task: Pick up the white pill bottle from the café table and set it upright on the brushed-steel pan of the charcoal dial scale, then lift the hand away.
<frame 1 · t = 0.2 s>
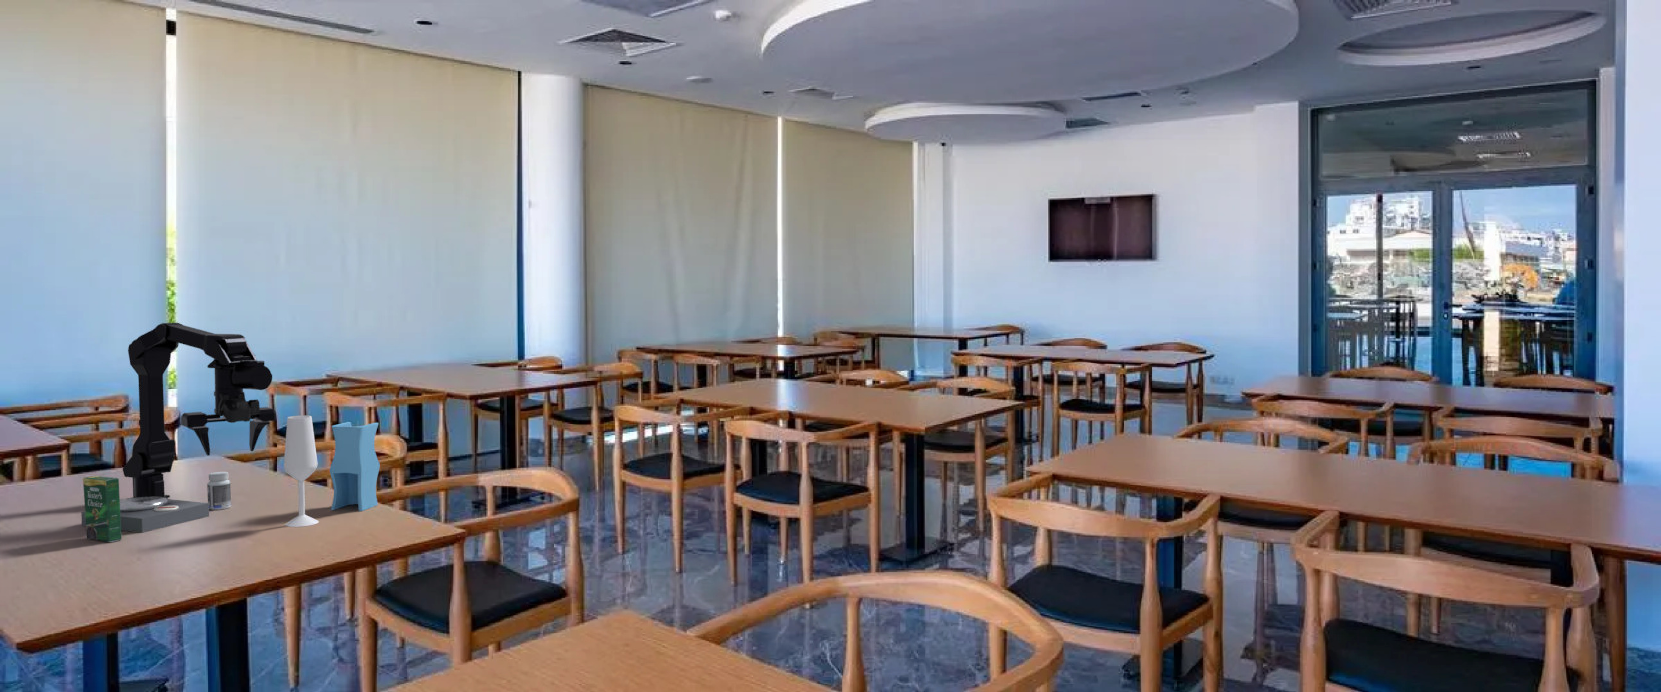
hand: (230, 453, 237), 13 cm above the table, fingers open, 9 cm apart
blue wavy hollow stand: (355, 507, 240), on the table
champagne flute: (302, 523, 224), on the table
coffee box: (103, 540, 209), on the table
scale pan: (138, 503, 225), point 4 cm above the table, slide at -0.3 cm
scale: (146, 520, 225), on the table
pill bottle: (219, 508, 238), on the table
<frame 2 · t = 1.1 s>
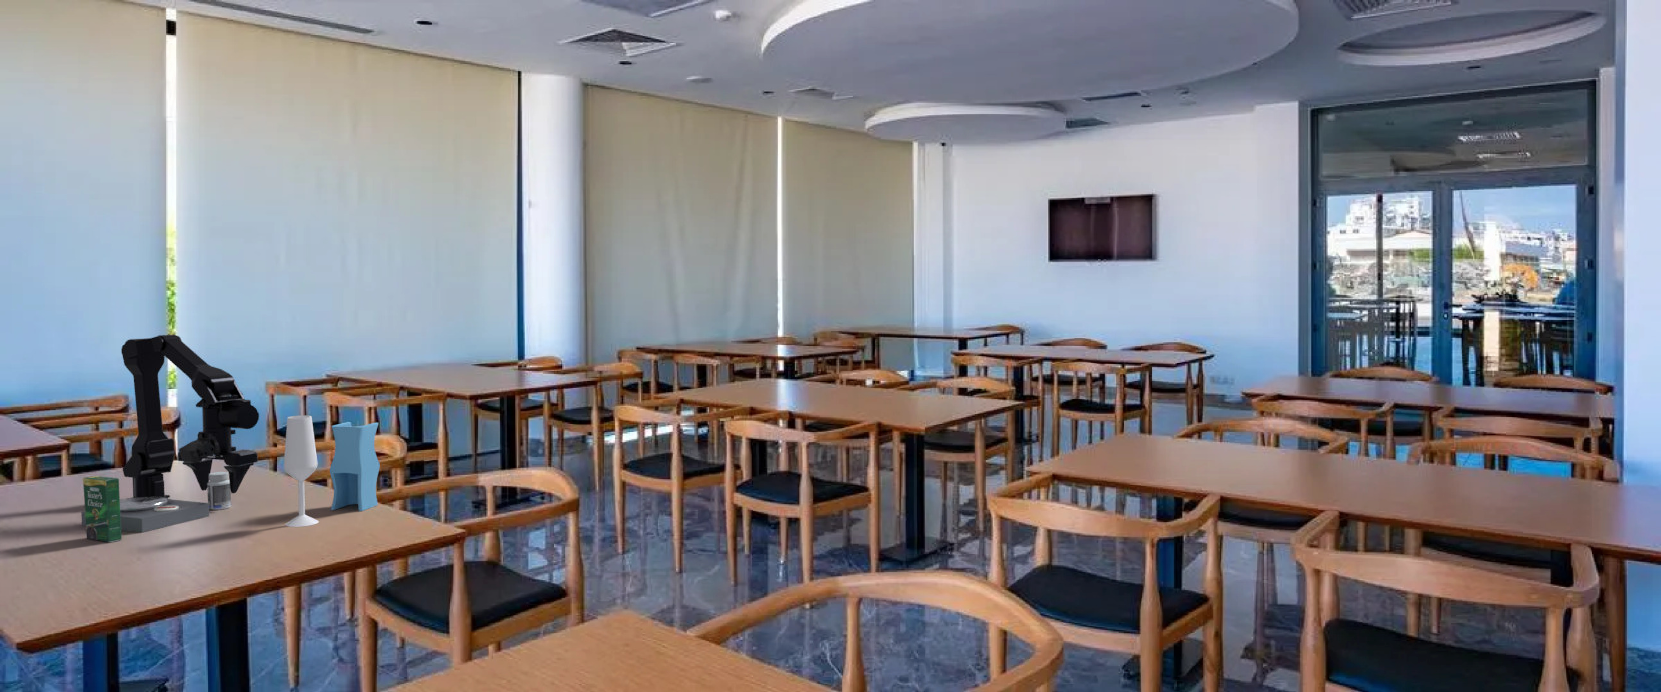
hand: (218, 491, 238), 4 cm above the table, fingers open, 9 cm apart
nothing on the table moved.
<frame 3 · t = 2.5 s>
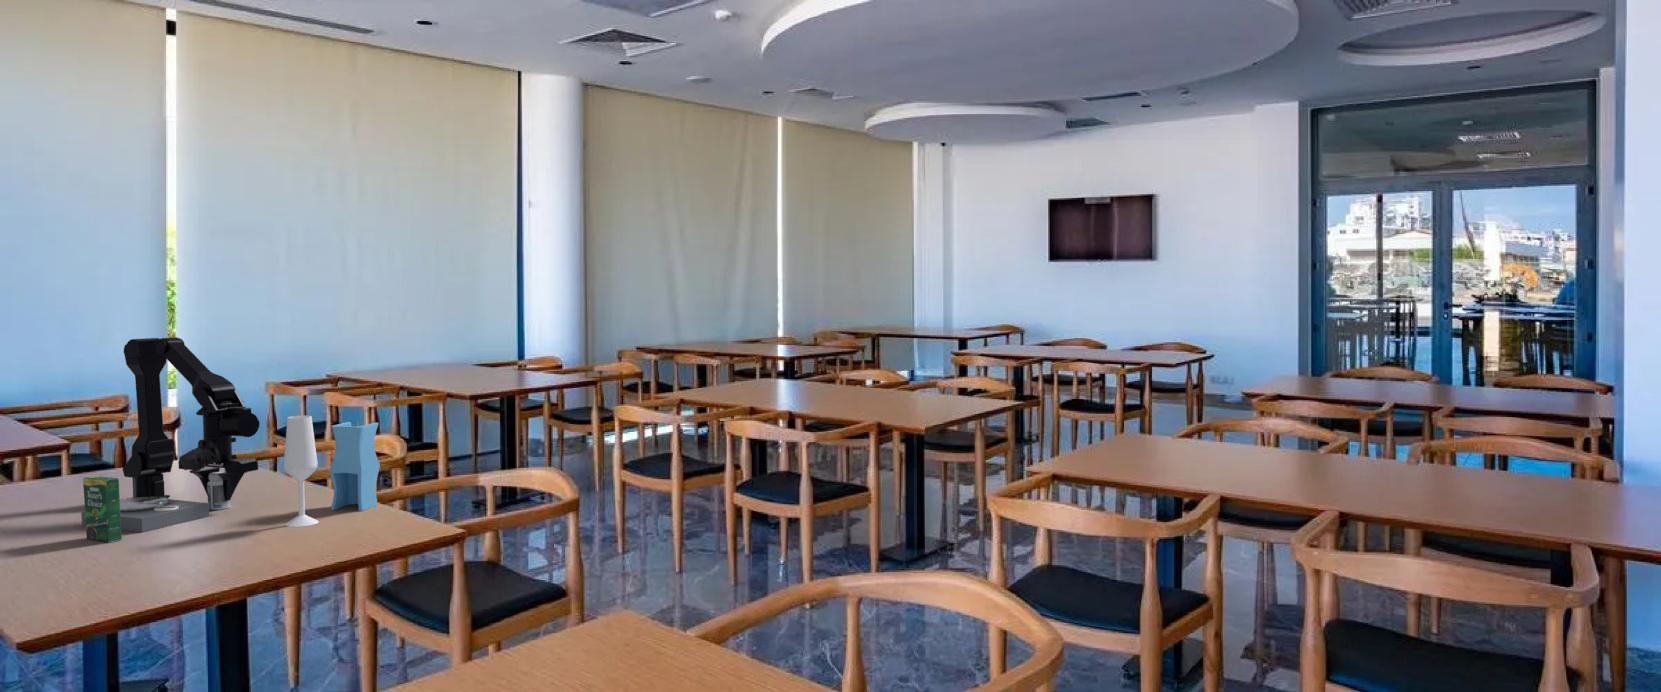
hand: (219, 499, 238), 2 cm above the table, fingers closed on pill bottle, 5 cm apart
pill bottle: (219, 508, 238), on the table, touching gripper
everything else where it was.
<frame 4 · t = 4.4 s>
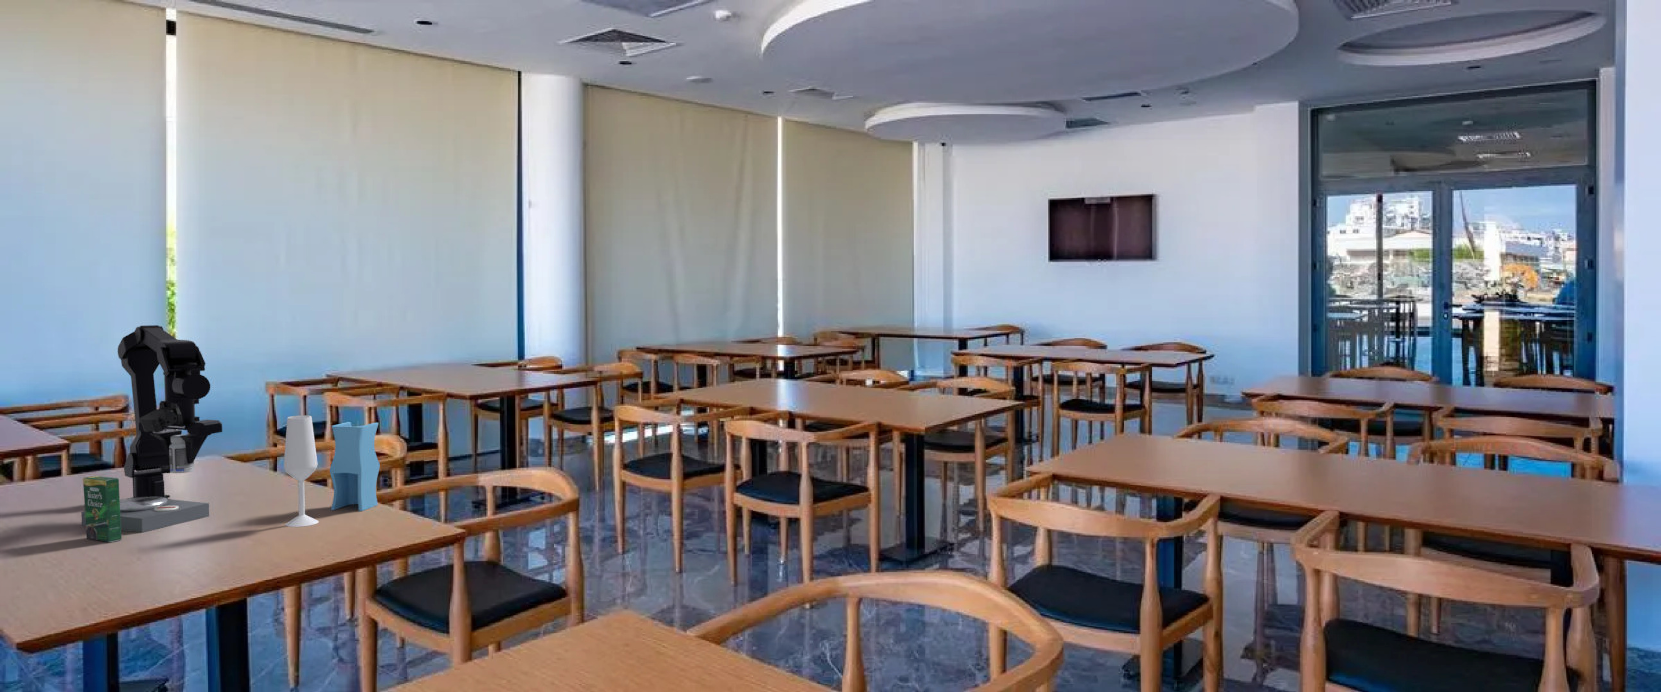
hand: (181, 462, 231), 12 cm above the table, fingers closed on pill bottle, 5 cm apart
pill bottle: (182, 472, 232), point 10 cm above the table, touching gripper
everything else where it was.
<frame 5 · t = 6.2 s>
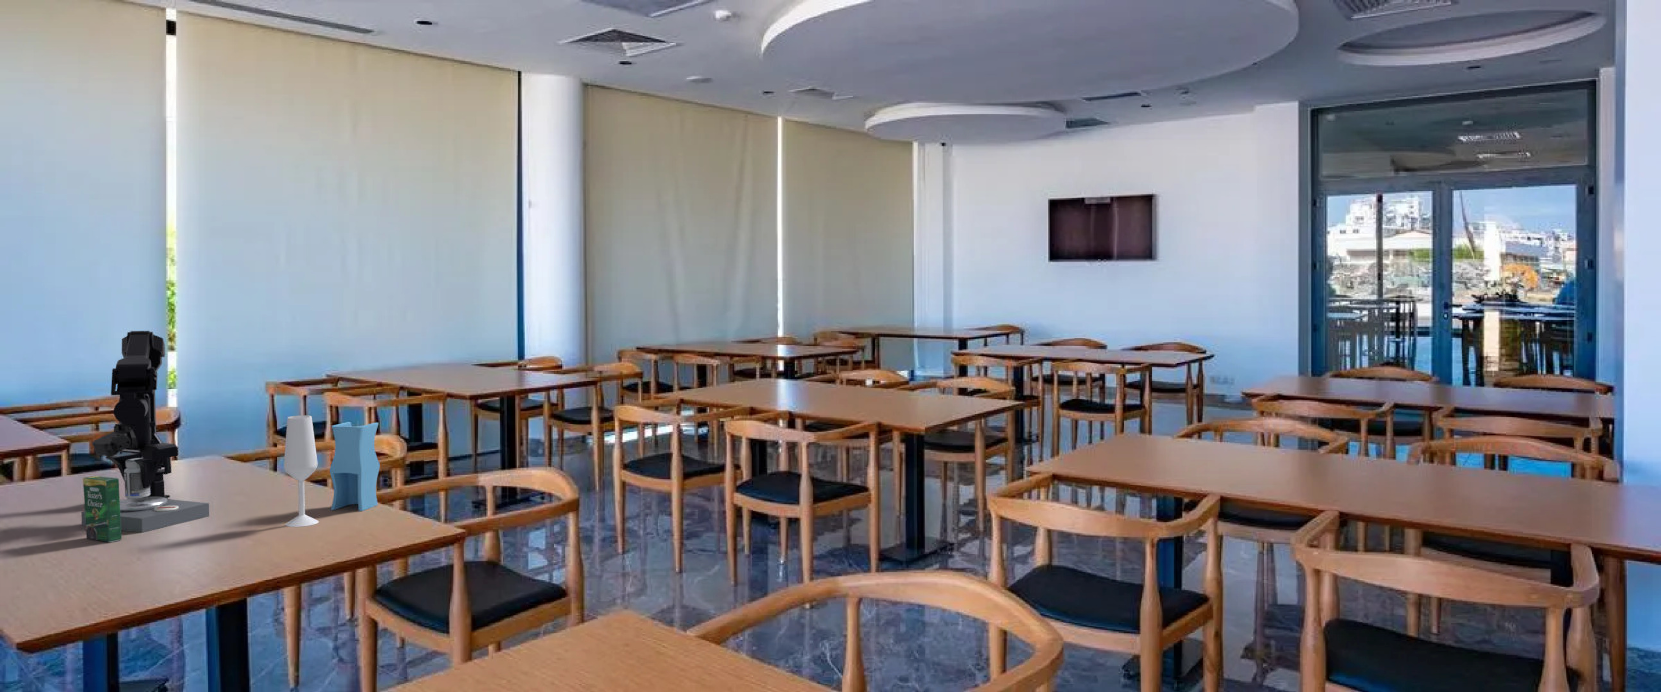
hand: (137, 487, 225), 7 cm above the table, fingers closed on pill bottle, 5 cm apart
pill bottle: (137, 497, 225), point 5 cm above the table, touching gripper
everything else where it was.
when the fingers open (7 cm above the table, at t = 6.5 s): pill bottle drops 1 cm, resting on scale pan.
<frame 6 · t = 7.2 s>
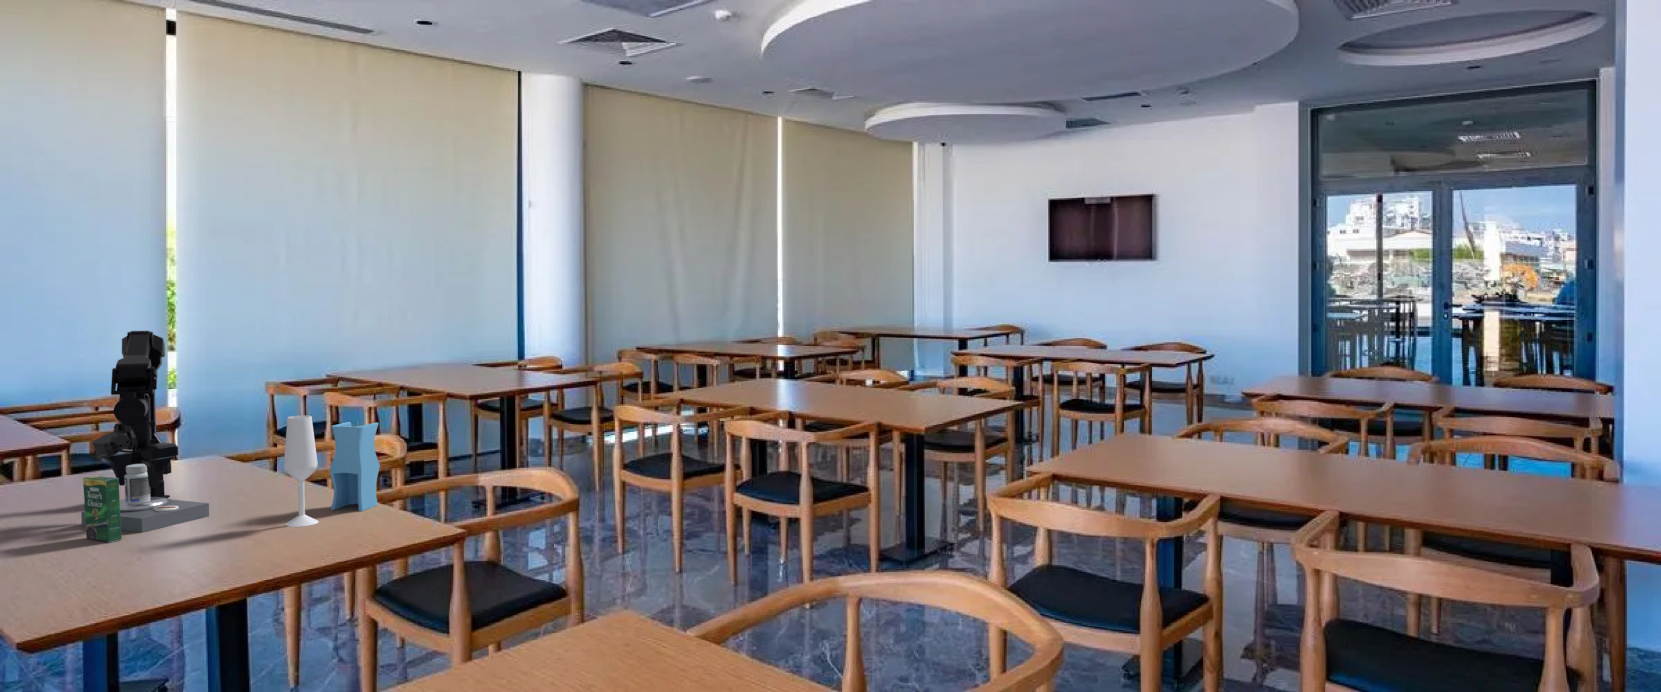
hand: (137, 486, 225), 7 cm above the table, fingers open, 9 cm apart
scale pan: (138, 504, 225), point 4 cm above the table, slide at -0.4 cm, touching pill bottle
pill bottle: (138, 502, 225), point 4 cm above the table, touching scale pan
everything else where it was.
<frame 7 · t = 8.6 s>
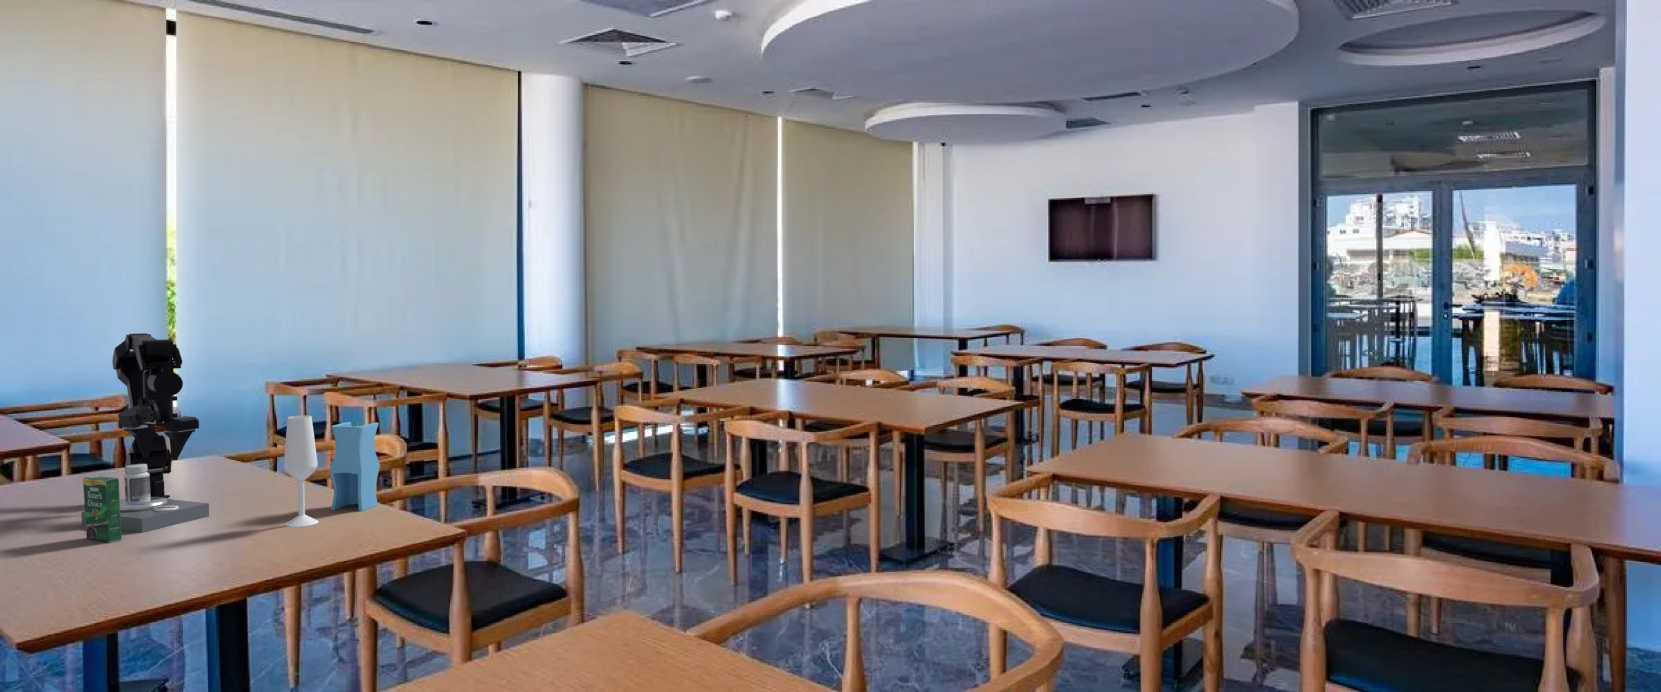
hand: (160, 458, 236), 12 cm above the table, fingers open, 9 cm apart
nothing on the table moved.
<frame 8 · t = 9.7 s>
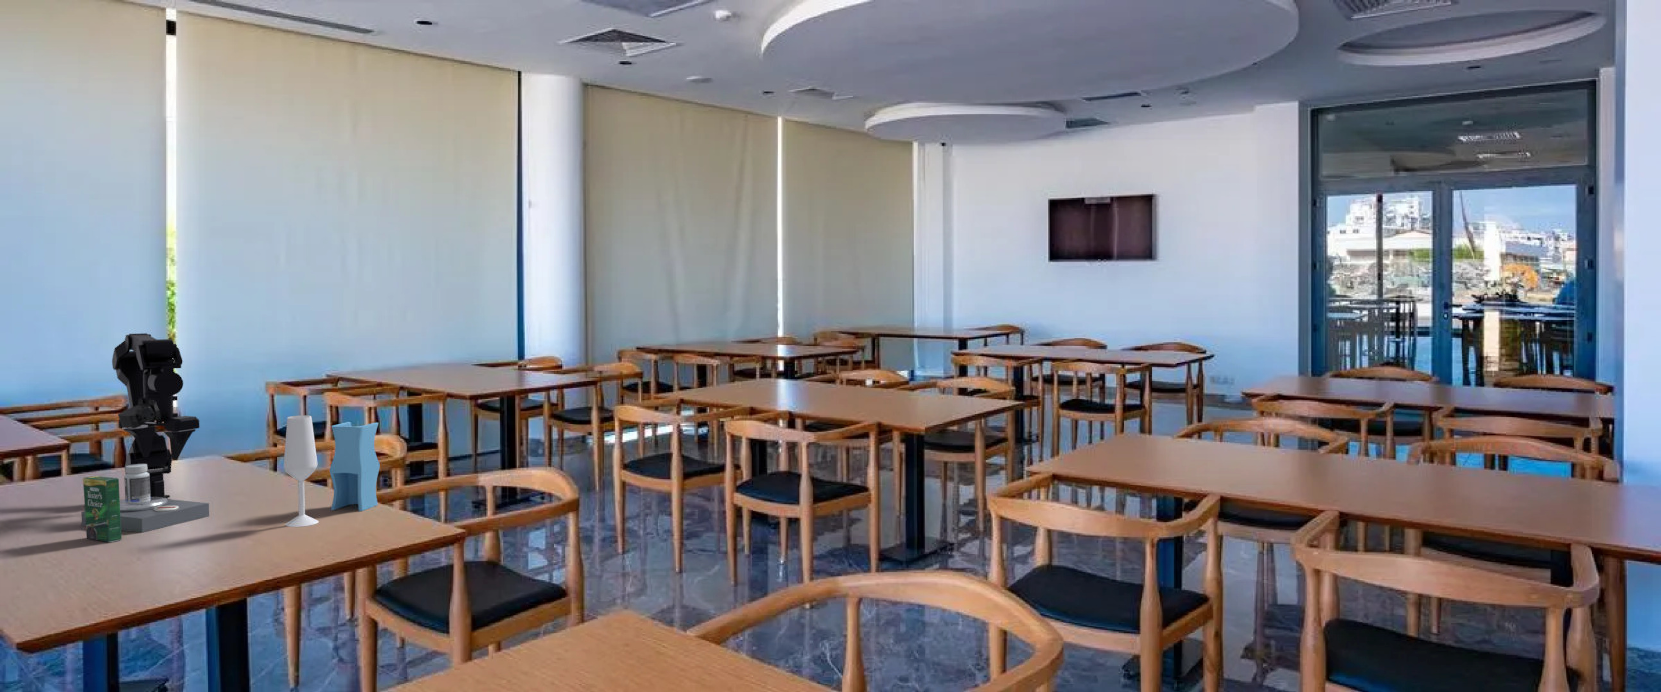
hand: (160, 458, 236), 12 cm above the table, fingers open, 9 cm apart
nothing on the table moved.
at the end: pill bottle inside the target area on the scale (0.1 cm from its centre), point 3.8 cm above the scale's base; pill bottle tilted 0°; the gripper is holding nothing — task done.
